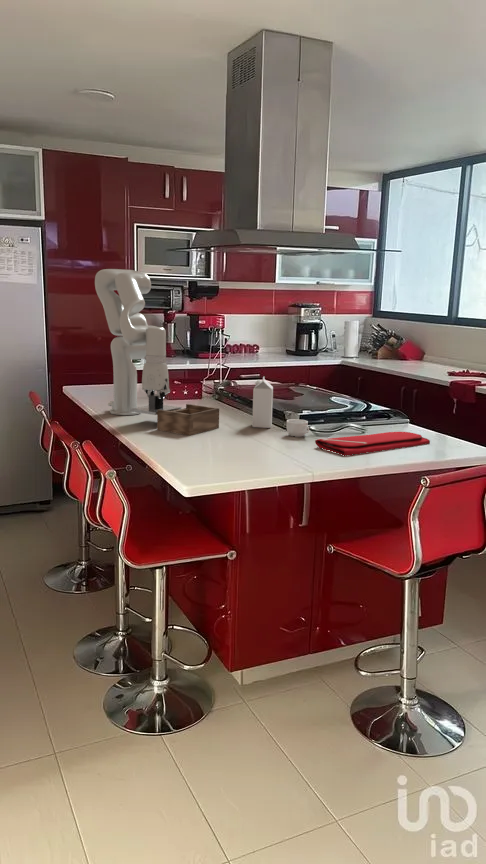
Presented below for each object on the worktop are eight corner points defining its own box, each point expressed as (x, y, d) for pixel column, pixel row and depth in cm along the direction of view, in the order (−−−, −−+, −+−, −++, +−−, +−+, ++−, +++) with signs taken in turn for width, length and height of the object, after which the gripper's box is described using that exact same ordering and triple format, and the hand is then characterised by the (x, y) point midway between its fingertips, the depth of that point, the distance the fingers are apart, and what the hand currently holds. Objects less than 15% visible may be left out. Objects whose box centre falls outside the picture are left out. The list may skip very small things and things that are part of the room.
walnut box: (157, 429, 255) (157, 409, 253) (187, 422, 269) (187, 403, 268) (189, 435, 247) (189, 414, 245) (218, 428, 261) (219, 408, 260)
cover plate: (129, 411, 262) (129, 395, 261) (156, 406, 275) (156, 391, 274) (155, 415, 256) (155, 398, 254) (181, 409, 268) (181, 394, 267)
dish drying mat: (430, 445, 245) (431, 434, 244) (345, 458, 221) (346, 447, 221) (397, 436, 257) (398, 427, 256) (313, 448, 234) (314, 437, 233)
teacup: (281, 435, 252) (282, 420, 251) (296, 432, 257) (297, 418, 256) (300, 440, 245) (301, 425, 243) (316, 437, 249) (316, 422, 248)
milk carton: (271, 424, 270) (273, 376, 266) (270, 428, 263) (272, 378, 260) (253, 424, 271) (255, 375, 267) (252, 427, 264) (253, 378, 260)
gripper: (132, 359, 263) (133, 407, 266) (166, 362, 254) (166, 411, 258) (146, 358, 269) (146, 404, 273) (179, 360, 260) (178, 409, 264)
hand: (156, 407), depth 265 cm, fingers closed on cover plate, 3 cm apart
